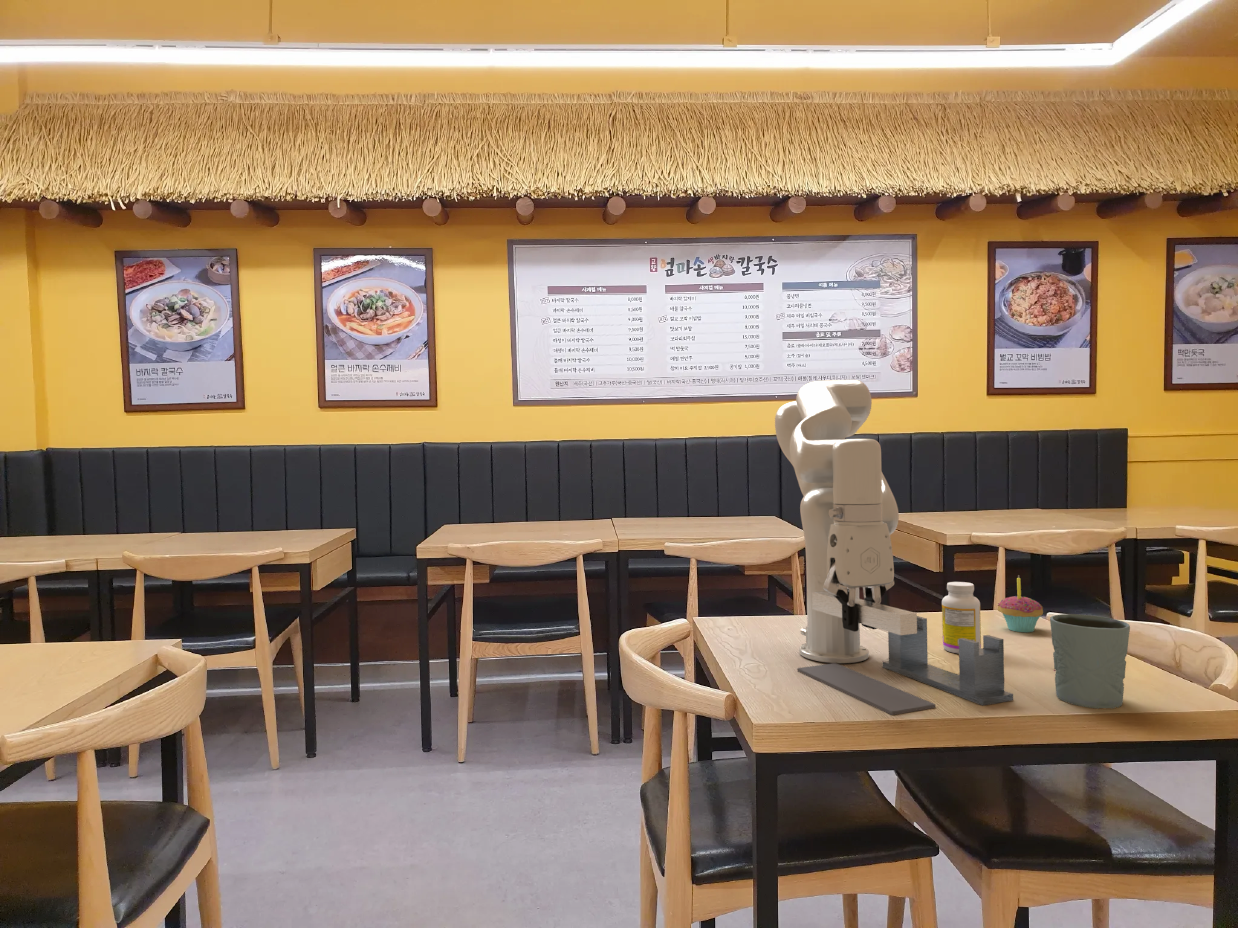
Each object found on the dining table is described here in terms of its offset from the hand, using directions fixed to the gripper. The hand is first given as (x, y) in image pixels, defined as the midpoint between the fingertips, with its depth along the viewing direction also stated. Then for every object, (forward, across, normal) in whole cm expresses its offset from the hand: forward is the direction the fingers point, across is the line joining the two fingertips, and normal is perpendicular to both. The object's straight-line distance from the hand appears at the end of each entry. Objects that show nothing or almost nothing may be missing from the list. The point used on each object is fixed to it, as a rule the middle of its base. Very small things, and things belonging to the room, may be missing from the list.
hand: (860, 627), depth 118 cm
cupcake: (+10, +56, +19) cm, 60 cm away
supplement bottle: (+10, +32, +11) cm, 36 cm away
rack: (+10, +14, -3) cm, 17 cm away
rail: (-1, 0, 0) cm, 1 cm away
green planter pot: (+10, +28, -18) cm, 35 cm away
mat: (+10, 0, 0) cm, 10 cm away
